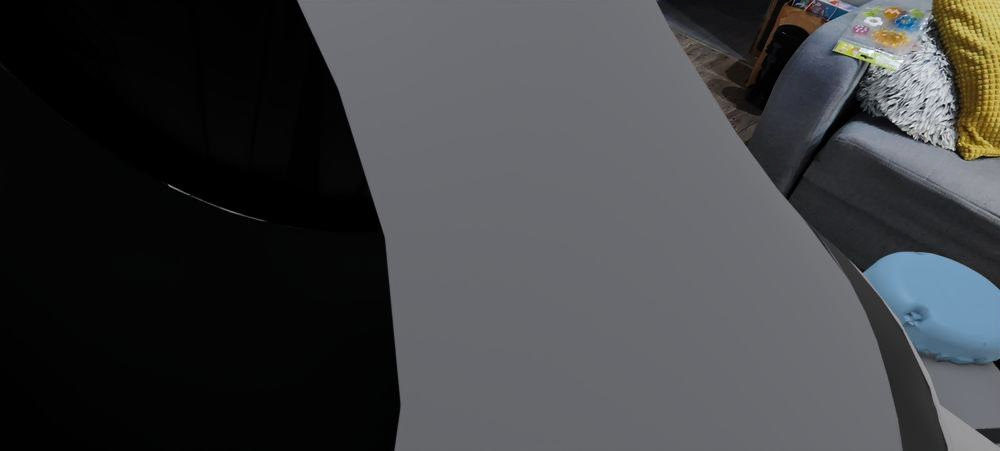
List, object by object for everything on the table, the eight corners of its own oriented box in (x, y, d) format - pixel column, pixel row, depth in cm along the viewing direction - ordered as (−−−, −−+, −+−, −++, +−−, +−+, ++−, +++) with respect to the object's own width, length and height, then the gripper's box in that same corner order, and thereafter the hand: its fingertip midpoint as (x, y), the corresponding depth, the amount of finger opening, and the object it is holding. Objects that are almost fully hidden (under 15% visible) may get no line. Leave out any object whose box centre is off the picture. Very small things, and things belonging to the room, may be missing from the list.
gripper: (618, 421, 40) (465, 273, 50) (754, 271, 52) (607, 176, 62) (640, 386, 35) (463, 228, 45) (786, 227, 46) (620, 130, 57)
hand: (546, 198), depth 54 cm, fingers open, 13 cm apart
